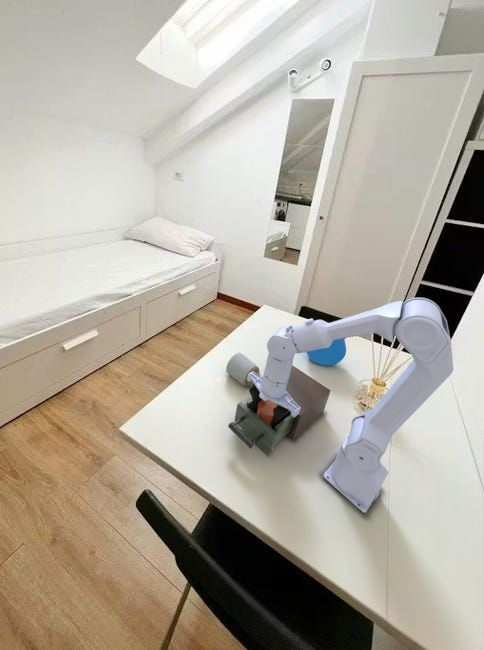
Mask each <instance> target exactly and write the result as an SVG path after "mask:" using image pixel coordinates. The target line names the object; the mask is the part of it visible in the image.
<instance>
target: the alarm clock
mask: <svg viewBox="0 0 484 650" xmlns="http://www.w3.org/2000/svg"><path fill="white" fill-rule="evenodd" d="M346 339H347V338H342V339H336V340H333V341H332V344H331V345H330V347H328V348H323V349H318V350H313V351H308V352H305V353H306V355H307V357H308V358H309V359H310V360H311V361H313V362H314V363H316V364H317V365H320V366H334V365H337V364H339V363H340V362H342V361H343V360H344V358H345V357H346V354H347V345H346Z"/></svg>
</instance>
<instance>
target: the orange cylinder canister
mask: <svg viewBox="0 0 484 650" xmlns="http://www.w3.org/2000/svg"><path fill="white" fill-rule="evenodd" d="M277 406H278V405H277V404H276V403H274V402H272V401H269V400H267V401H264V400H261V401H260V402H259V403H258V407H257V412H256V415H257V416H258V417H259V418H260V419H261V420H262V421H263V422H265V423H266V424H267V425H268V426H269V427H270V428H271V429H274V428H272V422H273V416H274V414H273V409H274V408H275V407H277Z"/></svg>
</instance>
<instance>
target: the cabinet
mask: <svg viewBox="0 0 484 650" xmlns="http://www.w3.org/2000/svg"><path fill="white" fill-rule="evenodd" d="M286 391H287V393H288V394H289V395H290V396H291V398H292V399H293V400H294V401H295V403H296V404H297V405H298V406H300V407H301V409H300V412H299V414H298V415H297V416H296V420H295V423H294V426H293V430H292V431H290V432H289V433H288V434H287V435H286V436H288V437H289V438H290V439H291V440H295V439H296V438H298V436H299V435H300V434H301V433H302V432H303V431H305V430H306V429H307V428H308V427H309V426H310V425H312V424H313V423H314V422H315V421H316V420H317V419H318V418H319V417H321V416H322V414H324V411H325V409H326V405H327V403H328V400H329V396H330V394H331V392H332V390H331V389H330V388H328V387H327V386H325V385H324V384H323V383H320V382H319V381H317V380H316V379H314V378H312V377H311V376H310V375H308V374H306V373H305V372H303V371H302V370H300V369H299V368H297V367H296V366H295V365H294V364H293V365H292V368H291V372H290V376H289V380H288V384H287V387H286Z"/></svg>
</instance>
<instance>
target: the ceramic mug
mask: <svg viewBox="0 0 484 650" xmlns="http://www.w3.org/2000/svg"><path fill="white" fill-rule="evenodd" d="M225 371H226V374H228V375H229V376H231V377H232V378H233V379H234V380H236V381H237V382H239V383H240V384H241V385H243V386H244V387H249V386H252V385H253V382H252V381H251V382H249V381H248V380H247V377H248V374H249V373H251V372H255V373H256V374H258V375H260V367H259V366H258V365H257V364H256V363H255V362H254V361H252V360H251V359H250V358H248V357H247V356H246V355H245V354H243V353H242V352H237V353H235V354H233V355H232V357H230V359H229V361H228V362H227V364H226V368H225Z"/></svg>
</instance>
